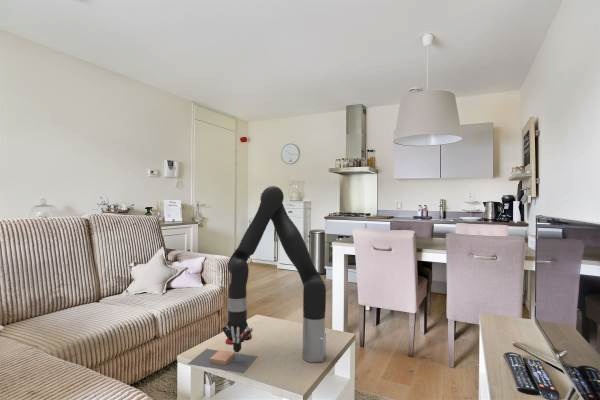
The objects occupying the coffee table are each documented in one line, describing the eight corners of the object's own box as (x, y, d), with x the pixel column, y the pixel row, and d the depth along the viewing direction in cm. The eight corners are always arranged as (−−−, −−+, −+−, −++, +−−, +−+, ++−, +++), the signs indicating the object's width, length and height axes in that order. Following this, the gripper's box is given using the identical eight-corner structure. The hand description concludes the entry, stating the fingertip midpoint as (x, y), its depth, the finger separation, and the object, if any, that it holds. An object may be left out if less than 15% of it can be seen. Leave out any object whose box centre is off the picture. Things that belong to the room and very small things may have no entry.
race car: (229, 347, 145) (230, 338, 145) (223, 344, 149) (223, 335, 149) (253, 339, 155) (253, 330, 155) (246, 335, 158) (246, 327, 158)
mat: (258, 357, 135) (258, 356, 135) (243, 374, 122) (243, 373, 122) (206, 350, 142) (206, 348, 142) (187, 365, 128) (187, 363, 128)
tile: (235, 352, 135) (219, 349, 137) (225, 360, 127) (209, 358, 129) (235, 356, 135) (219, 354, 137) (225, 365, 127) (209, 363, 129)
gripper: (256, 306, 133) (256, 349, 133) (227, 303, 136) (226, 345, 136) (248, 312, 125) (248, 357, 125) (218, 309, 129) (217, 353, 129)
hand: (237, 351), depth 131 cm, fingers closed
